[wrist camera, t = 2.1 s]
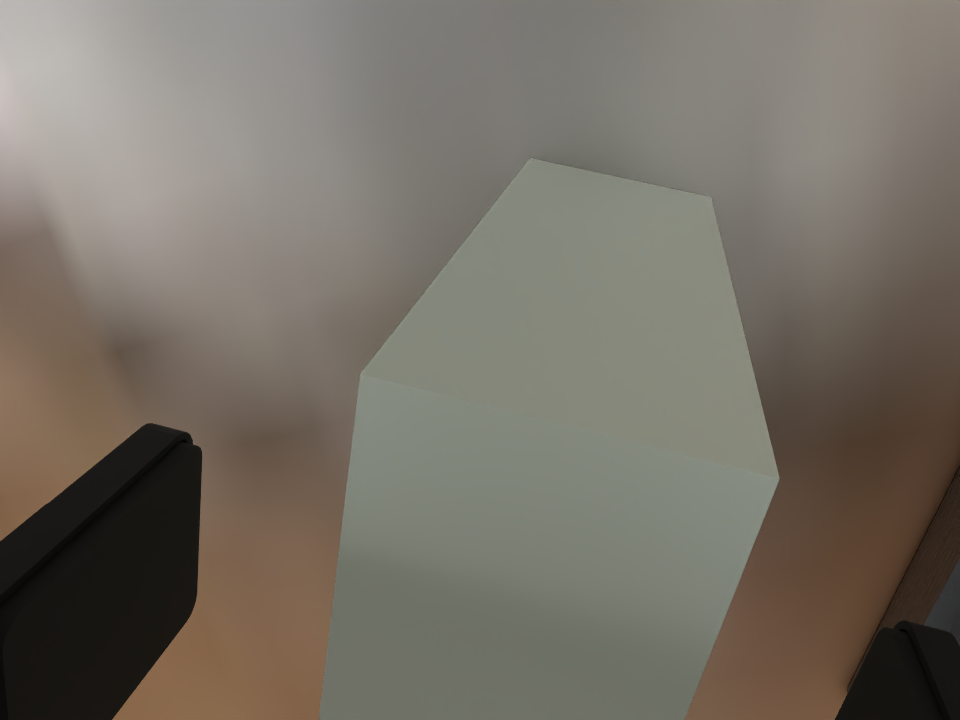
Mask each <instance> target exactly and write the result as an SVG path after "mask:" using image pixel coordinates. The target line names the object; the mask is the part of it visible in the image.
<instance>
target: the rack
mask: <svg viewBox="0 0 960 720" xmlns="http://www.w3.org/2000/svg"><path fill="white" fill-rule="evenodd" d="M904 620H906V621H909V622H913V623H917V624H921V625H925V626H929V627H932V628H936V629H940V630H944V631H948V632H949V633H951V634H953V636H954V637H955V639H956V640H957V642H958V644H959V646H960V468H959V470H958V472H957V474H956V476H955V478H954V480H953V482H952V484H951V486H950V488H949V490H948V492H947V494H946V495H945V497H944V499H943V501H942V503H941V505H940V507H939V509H938V511H937V513H936V515H935V517H934V519H933V521H932V523H931V525H930V527H929V529H928V531H927V533H926V535H925V537H924V539H923V541H922V543H921V545H920V547H919V549H918V551H917V553H916V555H915V557H914V559H913V560H912V562H911V564H910V566H909V568H908V570H907V572H906V574H905V576H904V578H903V580H902V582H901V584H900V586H899V588H898V590H897V592H896V594H895V596H894V598H893V600H892V602H891V604H890V606H889V608H888V610H887V612H886V614H885V616H884V618H883V620H882V622H881V624H880V626H879V627H878V629H877V631H876V633H875V635H874V637H873V639H872V641H871V643H870V645H869V647H868V649H867V651H866V653H865V655H864V657H863V659H862V661H861V663H860V665H859V667H858V669H857V671H856V673H855V675H854V677H853V679H852V681H851V683H850V685H849V687H848V689H847V692H849V690H850V688H851V686H852V684H853V682H854V680H855V678H856V676H857V674H858V672H859V670H860V668H861V666H862V664H863V662H864V660H865V658H866V656H867V654H868V652H869V650H870V648H871V646H872V644H873V641H874V639H875V637H876V635H877V634H878V632H879V631H880V630H881V629H882V628H885V627H887V628H891V629H893V628H894V626H895V625H896V624H897V623H898V622H900V621H904Z"/></svg>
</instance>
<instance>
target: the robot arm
mask: <svg viewBox="0 0 960 720" xmlns="http://www.w3.org/2000/svg"><path fill="white" fill-rule="evenodd" d="M201 473H202V451H201V448H200V447H199V446H196V445H193V440H192V438H191V435H190V434H189V433H187V432H183V431H180V430H176V429H172V428H168V427H164V426H161V425H157V424H153V423H148V424H146V425H144V426H142V427H141V428H140V429H139V430H137V431H136V432H135V433H134V434H133V435H131V436H130V437H129V438H128V439H126V440H125V441H124V442H123V443H122V444H120V445H119V446H118V447H117V448H115V449H114V450H113V451H112V452H111V453H109V454H108V455H107V456H106V457H104V458H103V459H102V460H101V461H100V462H98V463H97V464H96V465H95V466H93V467H92V468H91V469H90V470H89V471H87V472H86V473H85V474H84V475H82V476H81V477H80V478H79V479H77V480H76V481H75V482H74V483H73V484H71V485H70V486H69V487H68V488H66V489H65V490H64V491H63V492H62V493H60V494H59V495H58V496H57V497H55V498H54V499H53V500H52V501H51V502H49V503H48V504H46V505H44V506H43V507H42V508H41V509H40V510H38V511H37V512H36V513H35V514H33V515H32V516H31V517H30V518H29V519H27V520H26V521H25V522H24V523H22V524H21V525H20V526H19V527H17V528H16V529H15V530H14V531H13V532H11V533H10V534H9V535H8V536H6V537H5V538H4V539H3V540H2V541H0V720H112V719H113V718H114V716H115V715H116V714H117V712H118V711H119V710H120V708H121V707H122V706H123V704H124V703H125V702H126V701H127V699H128V698H129V697H130V695H131V694H132V693H133V691H134V690H135V689H136V687H137V686H138V685H139V683H140V682H141V681H142V680H143V678H144V677H145V676H146V674H147V673H148V672H149V670H150V669H151V668H152V666H153V665H154V664H155V662H156V661H157V660H158V659H159V657H160V656H161V655H162V653H163V652H164V651H165V649H166V648H167V647H168V645H169V644H170V643H171V641H172V640H173V639H174V638H175V636H176V635H177V634H178V632H179V631H180V630H181V628H182V627H183V626H184V624H185V623H186V622H187V620H188V619H189V617H190V615H191V613H192V611H193V608H194V605H195V602H196V597H197V580H198V553H199V527H200V500H201ZM835 720H960V646H959V644H958V642H957V640H956V639H955V637H954V636H953V634H951V633H949V632H948V631H944V630H940V629H936V628H932V627H929V626H925V625H921V624H917V623H913V622H909V621H906V620H904V621H900V622H898V623H897V624H896V625H895V626H894V628H893V629H891V628H887V627H885V628H882V629H881V630H880V631H879V632H878V634H877V635H876V637H875V639H874V641H873V644H872V646H871V648H870V650H869V652H868V654H867V656H866V658H865V660H864V662H863V664H862V666H861V668H860V670H859V672H858V674H857V676H856V678H855V680H854V682H853V684H852V686H851V688H850V690H849V692H848V694H847V696H846V698H845V700H844V702H843V704H842V706H841V708H840V710H839V712H838V714H837V716H836V718H835Z"/></svg>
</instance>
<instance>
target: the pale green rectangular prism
mask: <svg viewBox="0 0 960 720" xmlns="http://www.w3.org/2000/svg"><path fill="white" fill-rule="evenodd" d="M779 479H780V478H779V474H778V470H777V466H776V462H775V458H774V454H773V449H772V445H771V441H770V437H769V433H768V429H767V425H766V421H765V417H764V412H763V408H762V404H761V400H760V396H759V392H758V388H757V384H756V380H755V375H754V371H753V367H752V363H751V359H750V355H749V351H748V347H747V343H746V338H745V334H744V330H743V326H742V322H741V318H740V314H739V310H738V306H737V301H736V297H735V293H734V289H733V285H732V281H731V277H730V273H729V269H728V264H727V260H726V256H725V252H724V248H723V244H722V240H721V236H720V232H719V227H718V223H717V219H716V215H715V211H714V207H713V203H712V199H711V197H709V196H704V195H699V194H695V193H690V192H686V191H681V190H676V189H672V188H667V187H662V186H658V185H653V184H648V183H644V182H639V181H635V180H630V179H625V178H621V177H616V176H611V175H607V174H602V173H597V172H593V171H588V170H583V169H579V168H574V167H570V166H565V165H560V164H556V163H551V162H546V161H542V160H537V159H532V158H529V160H528V161H527V162H526V164H525V165H524V166H523V167H522V169H521V170H520V171H519V172H518V174H517V175H516V176H515V178H514V179H513V180H512V181H511V183H510V184H509V185H508V186H507V188H506V189H505V190H504V192H503V193H502V194H501V195H500V197H499V198H498V199H497V200H496V202H495V203H494V204H493V206H492V207H491V208H490V209H489V211H488V212H487V213H486V214H485V216H484V217H483V218H482V220H481V221H480V222H479V223H478V225H477V226H476V227H475V228H474V230H473V231H472V232H471V234H470V235H469V236H468V237H467V239H466V240H465V241H464V242H463V244H462V245H461V246H460V248H459V249H458V250H457V251H456V253H455V254H454V255H453V256H452V258H451V259H450V260H449V261H448V263H447V264H446V265H445V267H444V268H443V269H442V270H441V272H440V273H439V274H438V275H437V277H436V278H435V279H434V281H433V282H432V283H431V284H430V286H429V287H428V288H427V289H426V291H425V292H424V293H423V295H422V296H421V297H420V298H419V300H418V301H417V302H416V303H415V305H414V306H413V307H412V309H411V310H410V311H409V312H408V314H407V315H406V316H405V317H404V319H403V320H402V321H401V323H400V324H399V325H398V326H397V328H396V329H395V330H394V331H393V333H392V334H391V335H390V337H389V338H388V339H387V340H386V342H385V343H384V344H383V345H382V347H381V348H380V349H379V351H378V352H377V353H376V354H375V356H374V357H373V358H372V359H371V361H370V362H369V363H368V365H367V366H366V367H365V368H364V370H363V371H362V372H361V373H360V379H359V387H358V396H357V404H356V412H355V421H354V429H353V437H352V446H351V454H350V463H349V471H348V479H347V488H346V496H345V504H344V513H343V521H342V529H341V538H340V546H339V554H338V563H337V571H336V579H335V588H334V596H333V605H332V613H331V621H330V630H329V638H328V646H327V655H326V663H325V671H324V680H323V688H322V696H321V705H320V713H319V720H684V719H685V717H686V714H687V712H688V709H689V706H690V704H691V701H692V699H693V696H694V694H695V691H696V689H697V686H698V684H699V681H700V679H701V676H702V674H703V671H704V669H705V666H706V664H707V661H708V658H709V656H710V653H711V651H712V648H713V646H714V643H715V641H716V638H717V636H718V633H719V631H720V628H721V626H722V623H723V621H724V618H725V616H726V613H727V611H728V608H729V605H730V603H731V600H732V598H733V595H734V593H735V590H736V588H737V585H738V583H739V580H740V578H741V575H742V573H743V570H744V568H745V565H746V563H747V560H748V557H749V555H750V552H751V550H752V547H753V545H754V542H755V540H756V537H757V535H758V532H759V530H760V527H761V525H762V522H763V520H764V517H765V515H766V512H767V509H768V507H769V504H770V502H771V499H772V497H773V494H774V492H775V489H776V487H777V484H778V482H779Z"/></svg>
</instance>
